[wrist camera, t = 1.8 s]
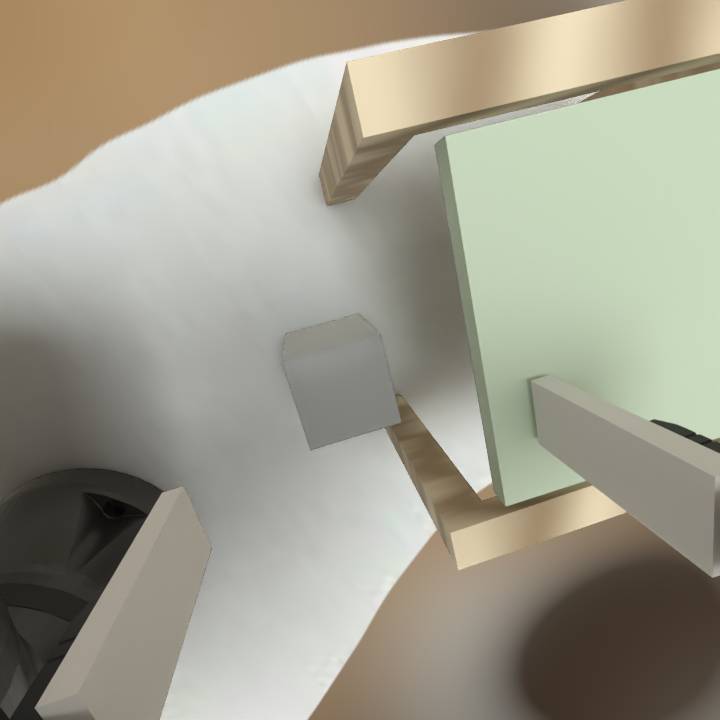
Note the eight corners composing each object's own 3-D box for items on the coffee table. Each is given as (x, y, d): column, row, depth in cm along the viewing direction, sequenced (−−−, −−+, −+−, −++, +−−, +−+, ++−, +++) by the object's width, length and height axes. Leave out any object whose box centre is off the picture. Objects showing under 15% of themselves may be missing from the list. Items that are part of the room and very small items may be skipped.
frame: (382, 424, 31) (463, 580, 16) (318, 174, 25) (349, 51, 10) (594, 359, 32) (851, 446, 17) (577, 111, 27) (926, -74, 12)
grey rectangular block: (307, 400, 29) (310, 450, 22) (286, 333, 28) (281, 361, 20) (375, 380, 30) (401, 422, 22) (357, 313, 28) (380, 333, 21)
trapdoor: (469, 461, 19) (505, 506, 16) (413, 163, 15) (445, 135, 12) (716, 385, 20) (802, 410, 17) (724, 85, 16) (838, 39, 13)
